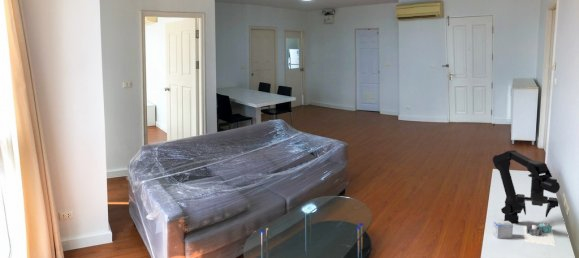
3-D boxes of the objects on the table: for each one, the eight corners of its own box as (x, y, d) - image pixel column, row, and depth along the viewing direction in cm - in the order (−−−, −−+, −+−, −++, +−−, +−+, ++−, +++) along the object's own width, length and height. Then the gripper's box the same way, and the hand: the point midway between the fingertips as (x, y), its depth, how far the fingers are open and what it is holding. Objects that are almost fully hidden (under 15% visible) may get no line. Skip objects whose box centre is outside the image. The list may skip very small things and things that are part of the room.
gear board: (524, 243, 215) (525, 233, 214) (523, 227, 232) (524, 217, 231) (554, 248, 209) (555, 237, 208) (551, 231, 226) (552, 221, 225)
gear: (526, 234, 222) (527, 229, 221) (526, 229, 228) (526, 224, 227) (542, 237, 219) (542, 231, 218) (541, 231, 225) (541, 226, 224)
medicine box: (507, 236, 224) (508, 220, 222) (512, 239, 220) (513, 224, 218) (492, 236, 224) (493, 221, 222) (497, 240, 219) (497, 225, 218)
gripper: (516, 190, 215) (515, 219, 218) (560, 194, 207) (558, 224, 210) (516, 183, 225) (515, 211, 228) (558, 187, 216) (556, 216, 220)
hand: (535, 215), depth 221 cm, fingers open, 9 cm apart
